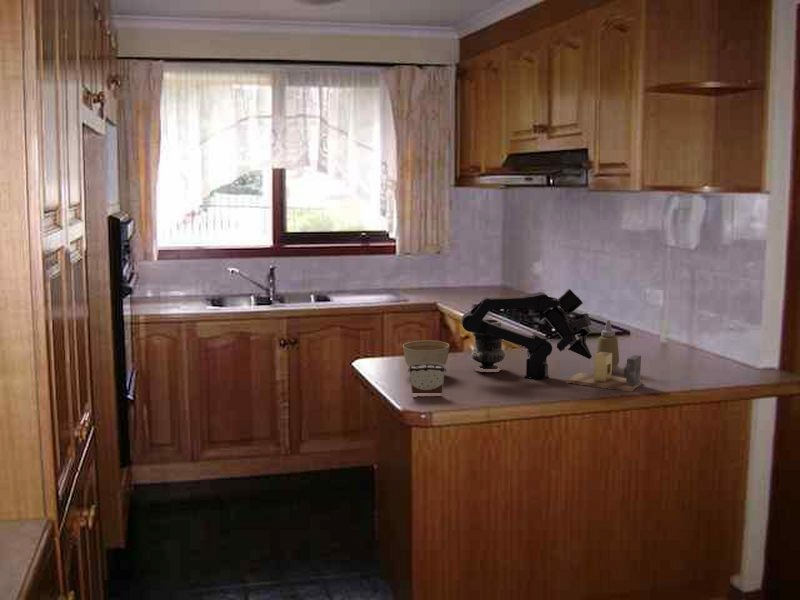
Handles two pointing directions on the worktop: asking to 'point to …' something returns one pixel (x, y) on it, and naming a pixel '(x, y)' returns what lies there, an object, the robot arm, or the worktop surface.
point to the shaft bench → (617, 383)
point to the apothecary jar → (488, 348)
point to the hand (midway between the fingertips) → (590, 357)
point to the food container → (427, 377)
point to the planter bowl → (426, 352)
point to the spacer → (603, 366)
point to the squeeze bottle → (609, 343)
